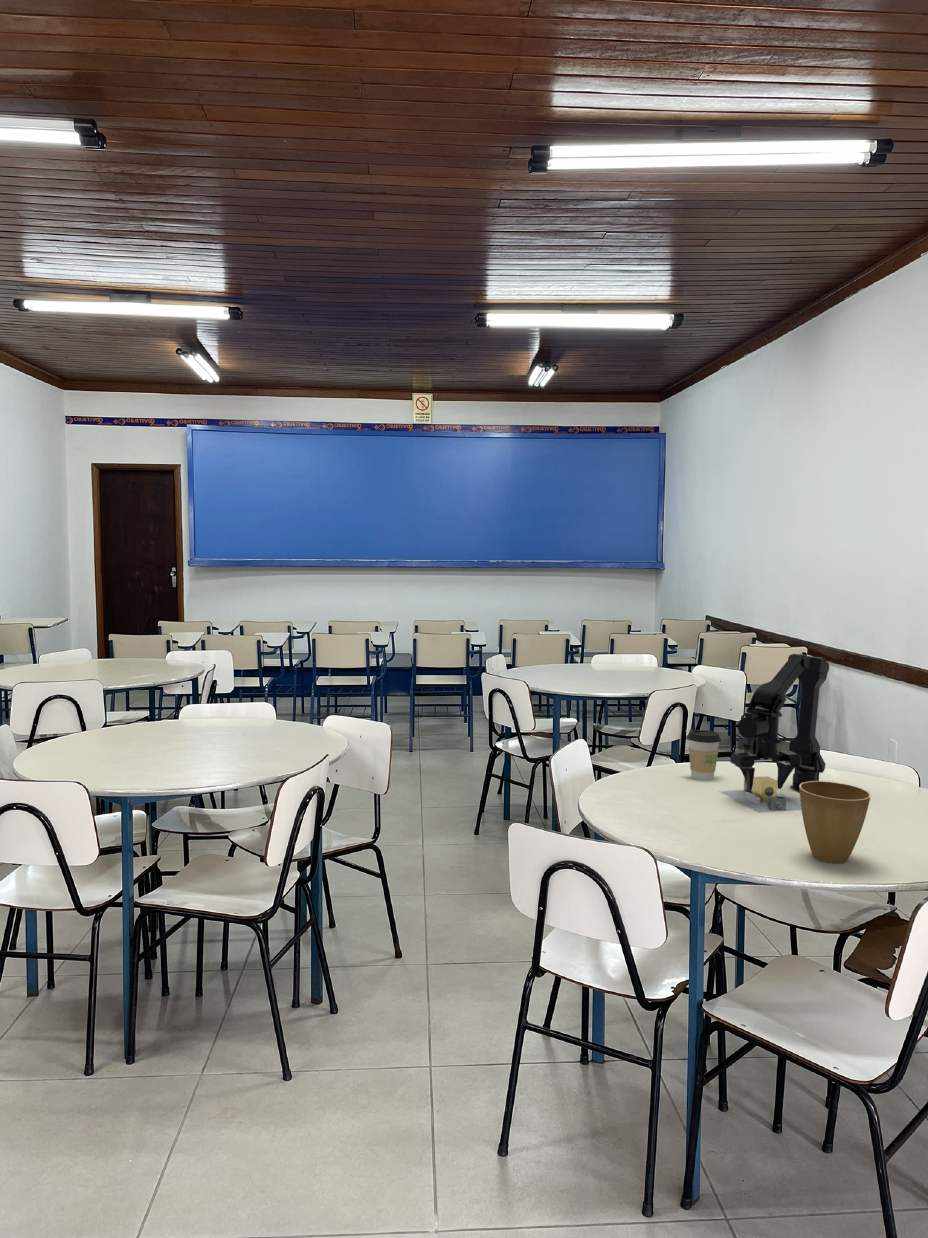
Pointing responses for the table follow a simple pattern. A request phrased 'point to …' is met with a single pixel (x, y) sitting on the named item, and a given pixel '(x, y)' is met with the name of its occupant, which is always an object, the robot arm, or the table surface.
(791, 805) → the grey base plate
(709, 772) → the coffee cup
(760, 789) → the block
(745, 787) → the shaft
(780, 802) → the shaft
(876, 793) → the table surface
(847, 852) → the plant pot
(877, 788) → the table surface
